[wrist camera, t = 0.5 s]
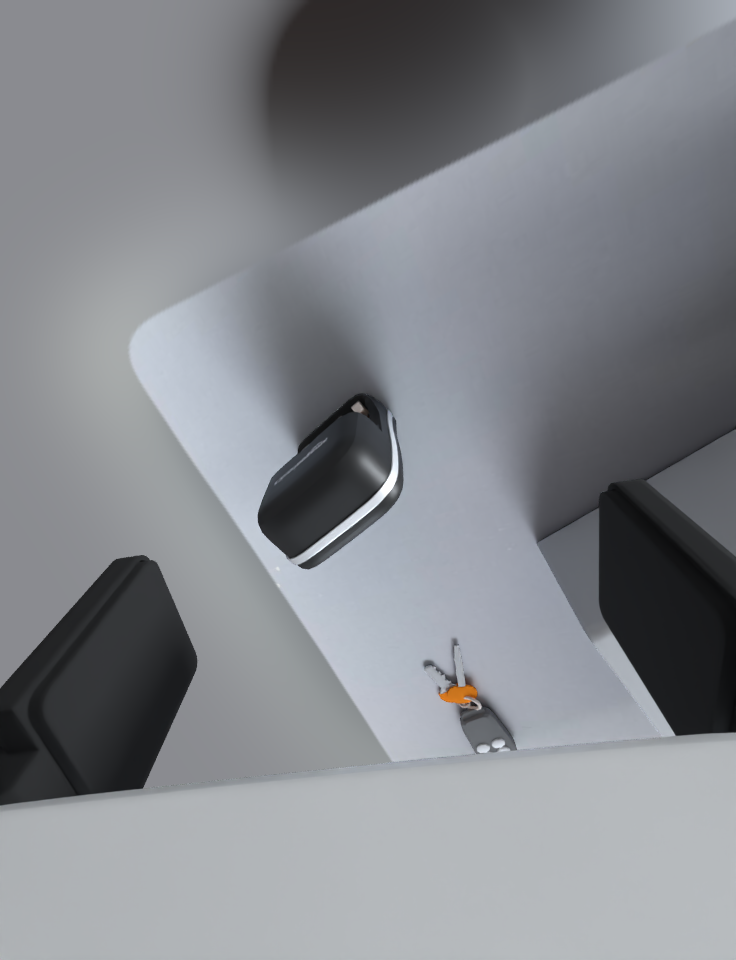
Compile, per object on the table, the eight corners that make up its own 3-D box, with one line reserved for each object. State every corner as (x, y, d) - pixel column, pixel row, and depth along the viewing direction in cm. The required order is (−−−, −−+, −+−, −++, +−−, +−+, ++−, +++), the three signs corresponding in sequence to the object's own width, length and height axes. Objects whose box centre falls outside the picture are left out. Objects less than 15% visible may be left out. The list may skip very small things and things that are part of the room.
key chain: (520, 741, 43) (524, 757, 42) (480, 755, 44) (483, 770, 43) (457, 641, 39) (460, 655, 37) (415, 658, 39) (416, 672, 38)
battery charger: (360, 373, 30) (350, 435, 20) (401, 417, 31) (411, 498, 21) (281, 443, 32) (234, 533, 22) (322, 483, 33) (295, 587, 23)
